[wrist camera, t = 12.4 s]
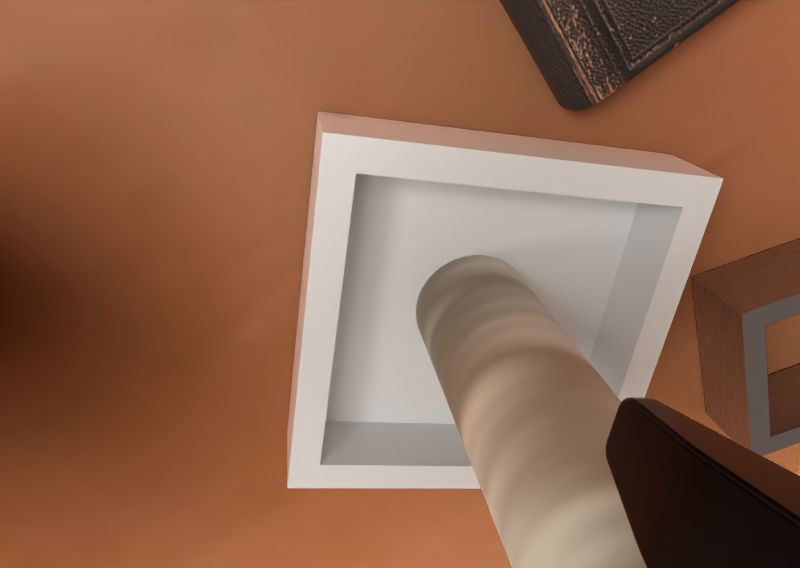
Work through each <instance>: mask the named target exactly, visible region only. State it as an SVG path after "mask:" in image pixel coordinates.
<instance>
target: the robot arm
mask: <svg viewBox="0 0 800 568" xmlns="http://www.w3.org/2000/svg"><path fill="white" fill-rule="evenodd" d="M605 451H606V459H607V462H608V465H609V468H610V471H611V473H612V476H613V479H614V482H615V485H616V487H617V490H618V493H619V496H620V499H621V501H622V504H623V507H624V510H625V513H626V515H627V518H628V521H629V524H630V527H631V529H632V532H633V535H634V538H635V540H636V543H637V546H638V548H639V551H640V553H641V556H642V558H643V560H644V562H645V565H646V567H647V568H800V476H798V475H796V474H795V473H793V472H791V471H789V470H787V469H785V468H783V467H781V466H779V465H778V464H776V463H774V462H772V461H770V460H768V459H766V458H764V457H763V456H761V455H759V454H757V453H755V452H753V451H751V450H749V449H747V448H746V447H744V446H742V445H740V444H738V443H736V442H734V441H732V440H730V439H729V438H727V437H725V436H723V435H721V434H719V433H717V432H715V431H714V430H712V429H710V428H708V427H706V426H704V425H702V424H700V423H698V422H697V421H695V420H693V419H691V418H689V417H687V416H685V415H683V414H681V413H680V412H678V411H676V410H674V409H672V408H670V407H668V406H666V405H664V404H663V403H661V402H659V401H657V400H655V399H652V398H639V397H628V398H625V399H624V400H622V402H621V403H620V405H619V407H618V410H617V413H616V415H615V418H614V421H613V424H612V427H611V430H610V433H609V436H608V439H607V442H606V448H605Z"/></svg>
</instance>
